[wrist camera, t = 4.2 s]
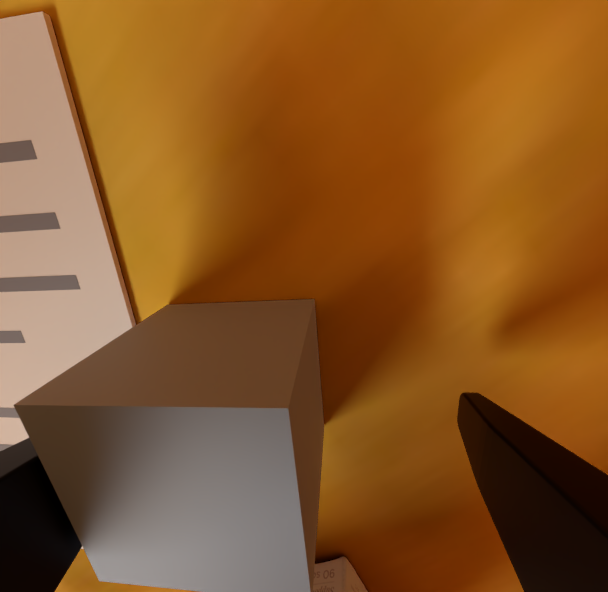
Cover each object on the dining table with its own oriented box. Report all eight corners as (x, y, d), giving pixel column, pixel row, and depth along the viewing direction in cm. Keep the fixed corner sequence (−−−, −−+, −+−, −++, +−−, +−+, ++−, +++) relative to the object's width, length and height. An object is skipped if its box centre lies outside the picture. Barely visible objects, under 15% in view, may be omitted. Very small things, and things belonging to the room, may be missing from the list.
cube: (197, 423, 12) (99, 580, 7) (167, 304, 10) (12, 405, 5) (323, 425, 11) (312, 602, 6) (314, 298, 9) (288, 407, 5)
